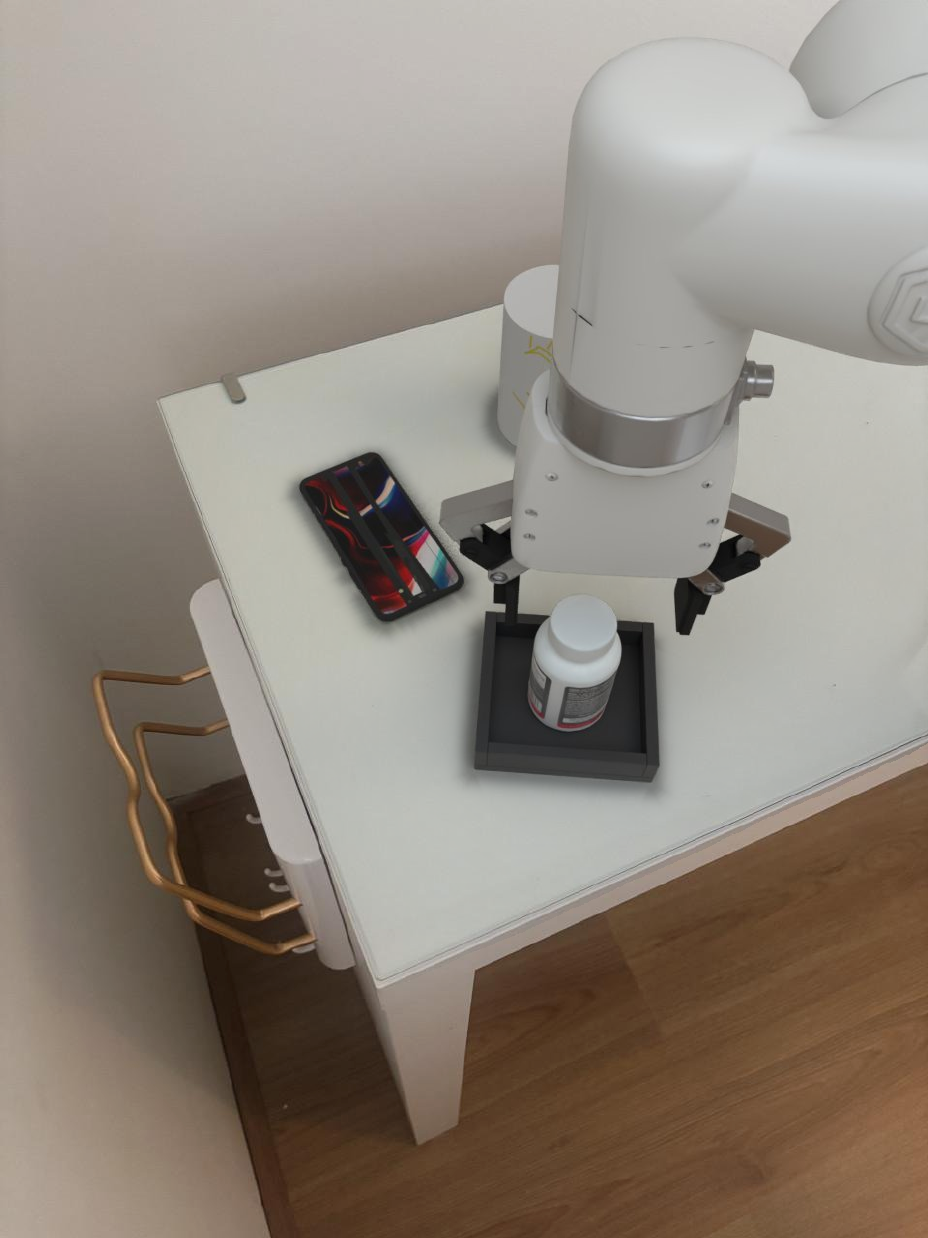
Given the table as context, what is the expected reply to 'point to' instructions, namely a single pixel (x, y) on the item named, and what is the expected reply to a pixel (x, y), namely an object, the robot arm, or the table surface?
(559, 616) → the pill bottle
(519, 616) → the tray
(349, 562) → the smartphone
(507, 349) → the cup
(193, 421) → the table surface
